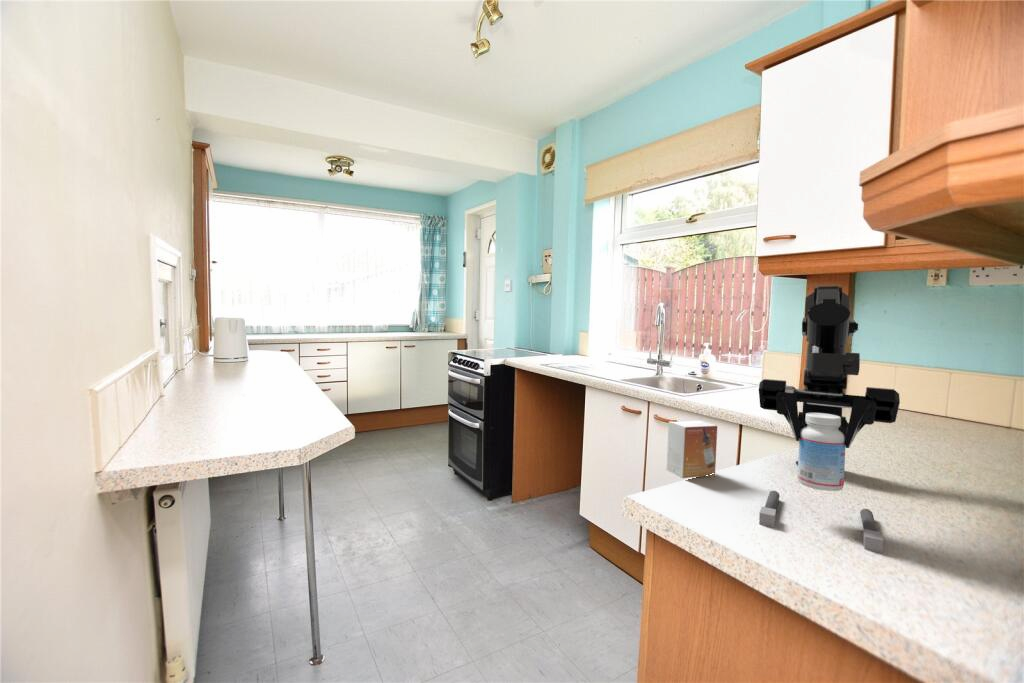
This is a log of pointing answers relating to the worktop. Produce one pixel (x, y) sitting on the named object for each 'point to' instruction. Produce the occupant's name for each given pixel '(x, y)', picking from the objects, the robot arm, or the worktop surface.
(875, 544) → the grey block-headed part
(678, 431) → the small box
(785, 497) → the worktop surface
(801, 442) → the pill bottle
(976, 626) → the worktop surface
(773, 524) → the grey block-tipped rod
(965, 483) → the worktop surface
